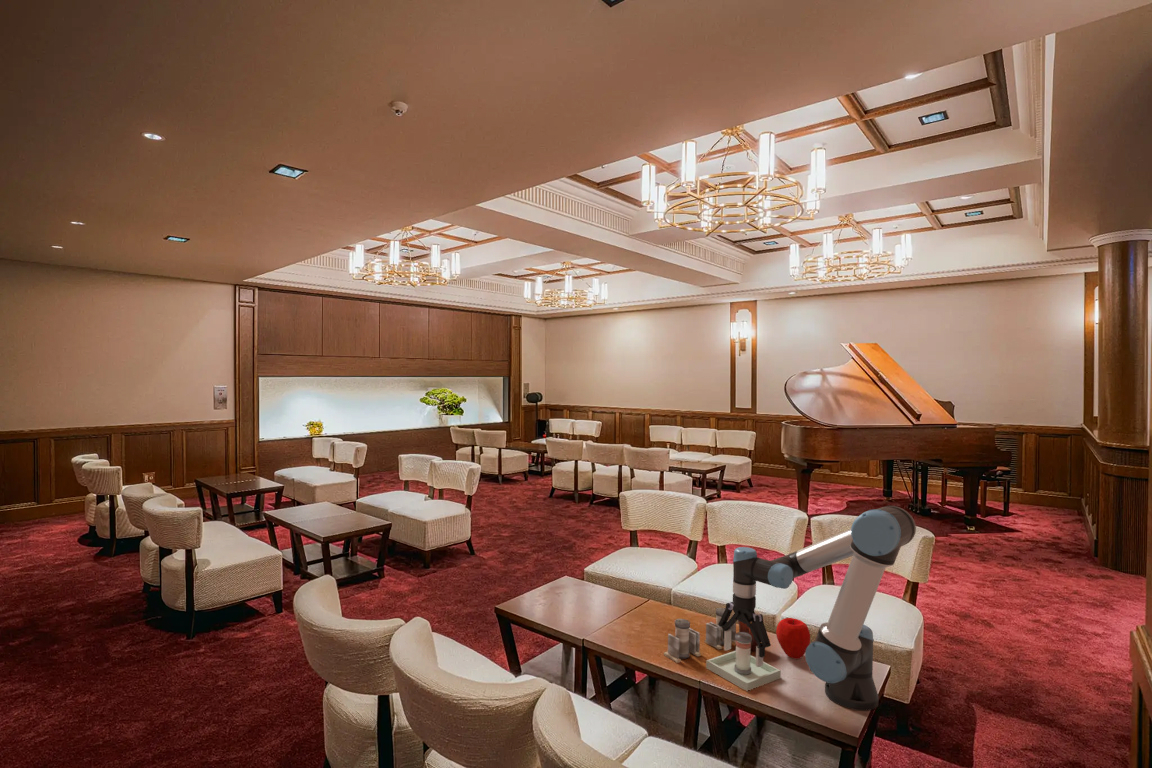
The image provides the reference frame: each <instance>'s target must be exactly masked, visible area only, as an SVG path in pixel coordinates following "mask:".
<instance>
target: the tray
mask: <svg viewBox="0 0 1152 768" xmlns="http://www.w3.org/2000/svg"><path fill="white" fill-rule="evenodd" d="M735 664H736V650H733V651H731V652H727V653H724V654H722V655H718V656H715V657H712V658H710V659H706V660H705V668H706V669H707V670H709V671H710V672H713V674H716V675H717V676H719V677H721V678H723V679H724V680H726V681H728V682H730V683H731V684H734V685H735V686H736V687H738V688H740V689H742V690H744V691H745V690H746V692H749V691H748V690H750V691H752V690H754V689H753V688H755V689H757V688H759V686H760V687H761V685H762V686H764V684H765V685H767V684H769V683H772V682H774V681H776V680H780V679H781V678H782V677H781V675H782V674H781V669H779V668H776V667H775V666H773V665H770V664H769V663H767V662H765V661H763V666H760V667H756V656H753V655H751V657H750V667H751V674H750V675H740V674H738V673H736V672H735ZM756 687H757V688H756ZM751 689H752V690H751Z"/></svg>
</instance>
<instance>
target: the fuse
mask: <svg viewBox="0 0 1152 768" xmlns="http://www.w3.org/2000/svg"><path fill="white" fill-rule="evenodd" d="M735 640H736V643H735V651H736V664H735V672H736V673H738V674H740V675H750V674H751V667H750V657H751V656H752V655H751V652H752V651H751V642H752V636H751V635H750V634H748V633H744V632H739V631H738V632H736V634H735Z"/></svg>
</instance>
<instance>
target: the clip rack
mask: <svg viewBox="0 0 1152 768" xmlns="http://www.w3.org/2000/svg"><path fill="white" fill-rule="evenodd" d="M725 609H726V607H725V608H724V607H718V608H716V609H715V615H716V618H715V620H716V621H715V623H714V622H712V621H710V622H707V623H705V639H704V643H705V644H708V645H709V646H711V647H712V648H714V649H717V650H722V649H723V647H724V639H723V629H722V627H720V626H719V625H718V624H719V622H720V619H721V617H722V615H723V613H724V611H725ZM730 619H731V618H729V619H728V621H729V620H730ZM728 621H727V622H728ZM674 626H675V633H674V634H675V635H673V634H671V633H668V634H667V651H665V652H663V656H665V657H666V658H668V659H669V660H671V661H672V662H674V663H676V664H679V663H681V662H682V660H686V659H689V658H690V654H692V655H694V656H695V657H700V656H701V652H700V650H701V649H700V644H701V643H700V642H701V640H700V639H701V636H700V635H701V633H700V632H698V631H696V630H695V629H693V628H691V621H690V620H689V619H686V618H677V619H675V620H674ZM729 630H731V643H734V644H736V640H735V634H736V633H737V621H736V622H735V623H734V624H733V625H732V626H731V627H730V629H729Z"/></svg>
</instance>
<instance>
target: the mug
mask: <svg viewBox="0 0 1152 768" xmlns="http://www.w3.org/2000/svg"><path fill="white" fill-rule="evenodd" d="M754 619H755V618H754ZM737 622H738V629H739V630H738V632H744V633H748V634H750V635H751V636H752V642H751V652H752V651H756V646H758V644H757V642H756V640H755V638H754V636H753V634H752V632H751V630H750V628H749V627H748V626H747V625H746V624H744V623H742V622H739V621H738V620H737ZM751 623H752V621H751Z"/></svg>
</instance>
